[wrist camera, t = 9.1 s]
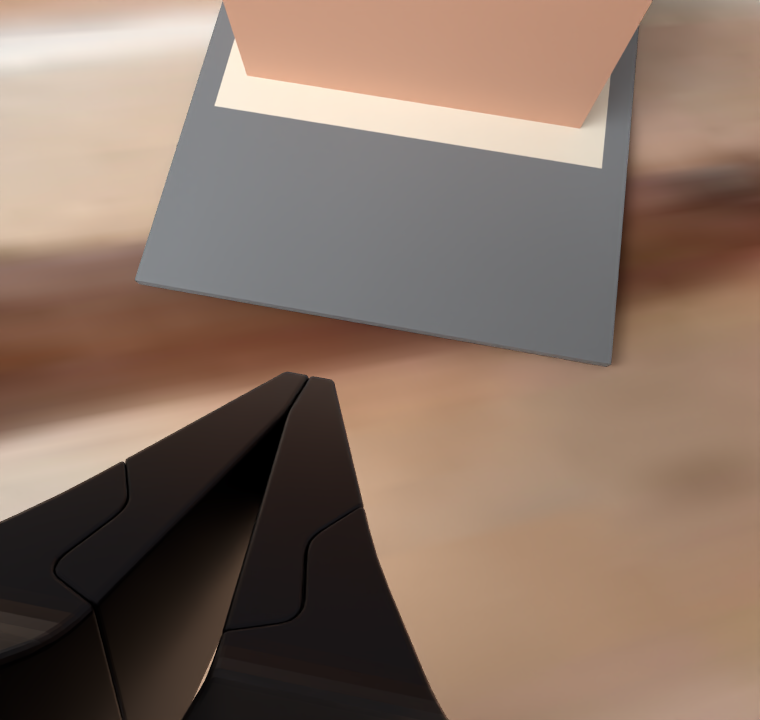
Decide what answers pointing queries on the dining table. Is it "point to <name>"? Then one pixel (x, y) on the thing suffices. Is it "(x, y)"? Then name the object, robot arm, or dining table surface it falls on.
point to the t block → (444, 50)
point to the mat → (398, 210)
